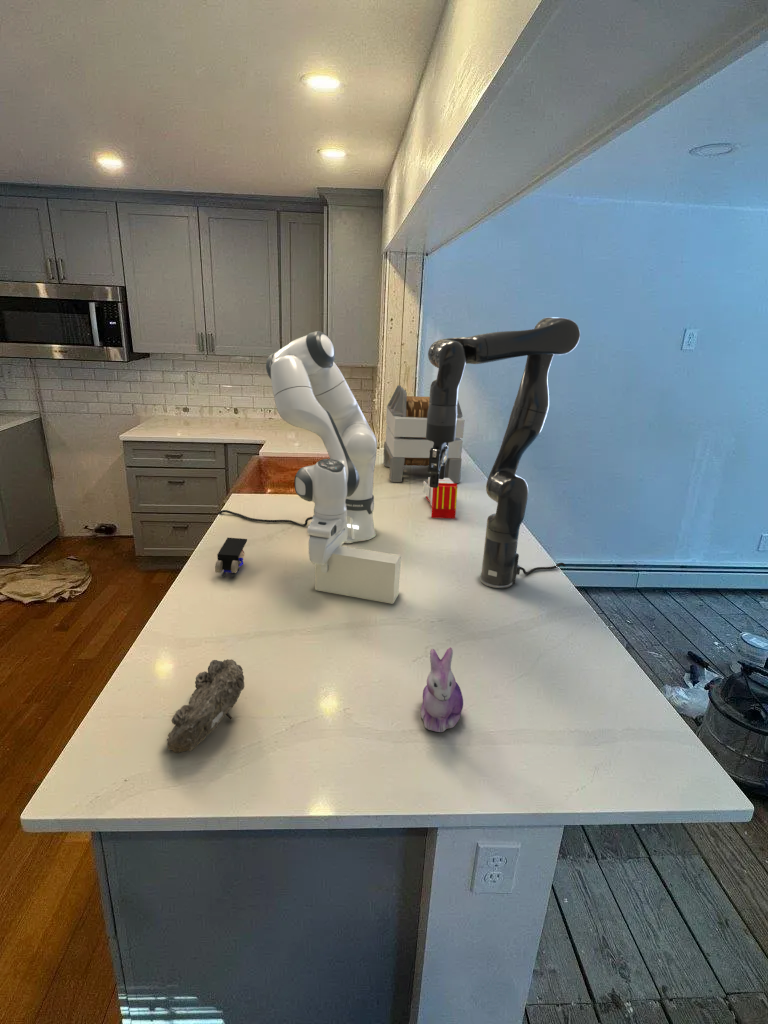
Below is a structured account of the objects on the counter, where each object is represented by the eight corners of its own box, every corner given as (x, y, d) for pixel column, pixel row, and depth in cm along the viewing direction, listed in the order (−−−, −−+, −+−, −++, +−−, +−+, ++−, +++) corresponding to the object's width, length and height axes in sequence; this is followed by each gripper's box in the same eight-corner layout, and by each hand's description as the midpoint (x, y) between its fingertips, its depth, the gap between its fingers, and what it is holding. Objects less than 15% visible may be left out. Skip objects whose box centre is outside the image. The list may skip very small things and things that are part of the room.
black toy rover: (238, 584, 162) (249, 557, 175) (236, 562, 158) (247, 536, 172) (215, 584, 161) (227, 556, 175) (212, 561, 158) (225, 535, 171)
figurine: (434, 741, 104) (440, 672, 99) (407, 708, 113) (411, 643, 108) (476, 726, 108) (484, 660, 103) (446, 695, 117) (452, 632, 112)
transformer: (382, 463, 289) (386, 382, 275) (445, 464, 293) (451, 384, 279) (390, 482, 257) (394, 392, 243) (460, 483, 261) (468, 394, 247)
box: (315, 590, 158) (315, 550, 154) (322, 581, 163) (323, 543, 159) (393, 604, 152) (395, 563, 148) (398, 594, 158) (401, 555, 154)
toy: (450, 473, 241) (461, 484, 212) (448, 504, 244) (459, 519, 214) (421, 472, 240) (429, 483, 211) (420, 503, 243) (427, 518, 214)
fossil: (192, 660, 117) (244, 628, 112) (224, 691, 120) (276, 661, 115) (142, 746, 98) (202, 712, 93) (182, 779, 101) (242, 748, 96)
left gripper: (333, 506, 163) (332, 550, 168) (304, 531, 145) (304, 579, 149) (353, 509, 162) (352, 553, 166) (327, 534, 143) (326, 583, 148)
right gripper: (451, 428, 137) (446, 492, 142) (460, 418, 150) (455, 477, 155) (421, 425, 138) (417, 488, 144) (432, 415, 151) (428, 474, 157)
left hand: (329, 566), depth 158 cm, fingers closed on box, 6 cm apart
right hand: (436, 482), depth 149 cm, fingers open, 8 cm apart
